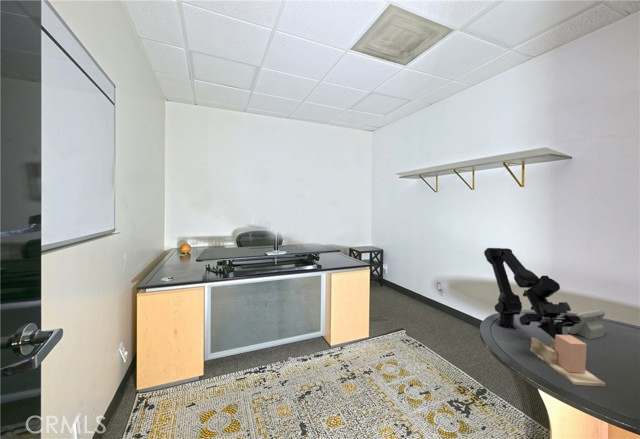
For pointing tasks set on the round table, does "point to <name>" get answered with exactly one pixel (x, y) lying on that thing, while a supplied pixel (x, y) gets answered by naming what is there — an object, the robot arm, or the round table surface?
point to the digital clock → (589, 325)
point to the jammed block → (570, 353)
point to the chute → (550, 358)
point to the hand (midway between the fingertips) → (561, 343)
